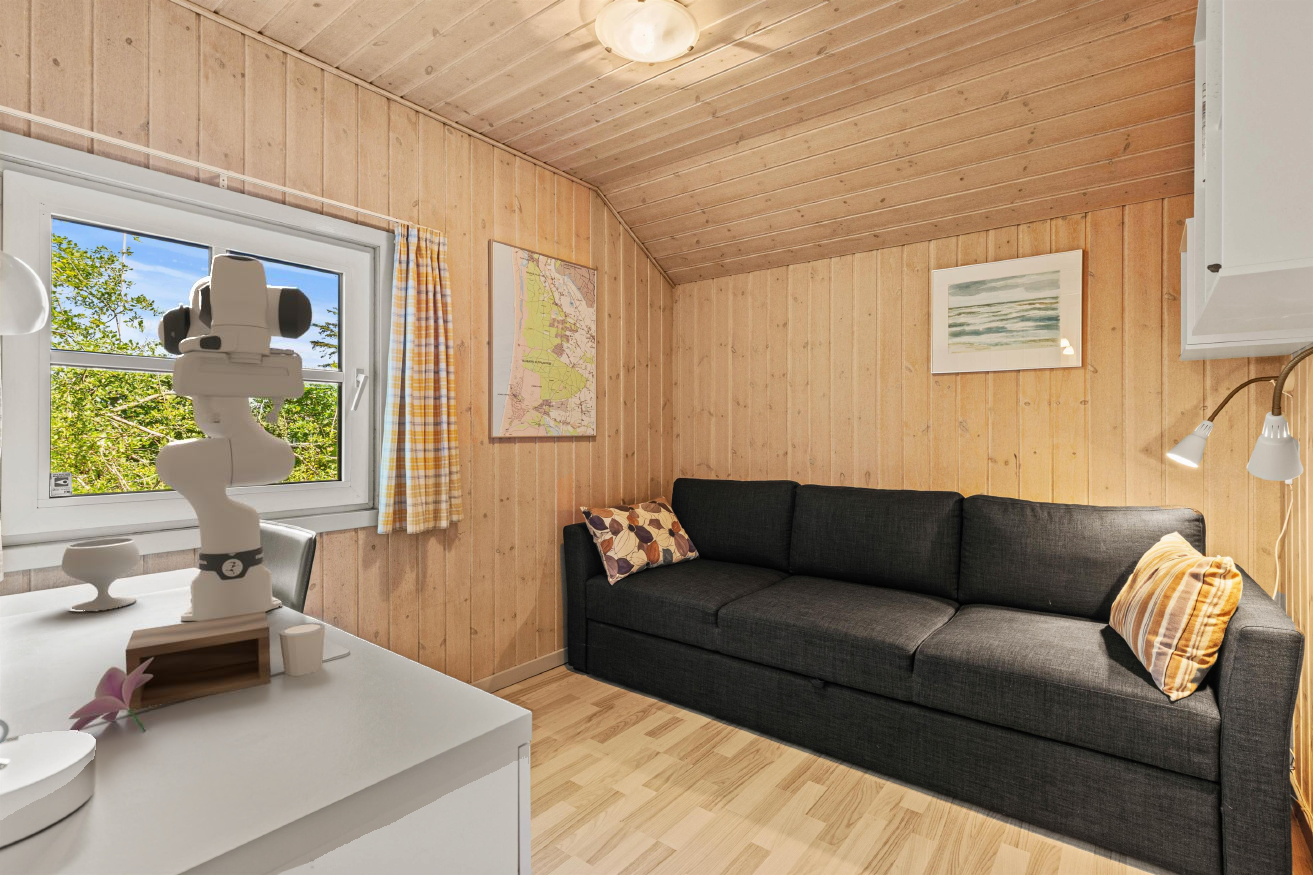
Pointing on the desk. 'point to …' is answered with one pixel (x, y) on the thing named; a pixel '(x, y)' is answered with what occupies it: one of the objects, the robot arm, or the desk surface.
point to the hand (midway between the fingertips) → (243, 423)
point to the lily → (112, 696)
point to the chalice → (101, 568)
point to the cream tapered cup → (302, 648)
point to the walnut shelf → (200, 658)
